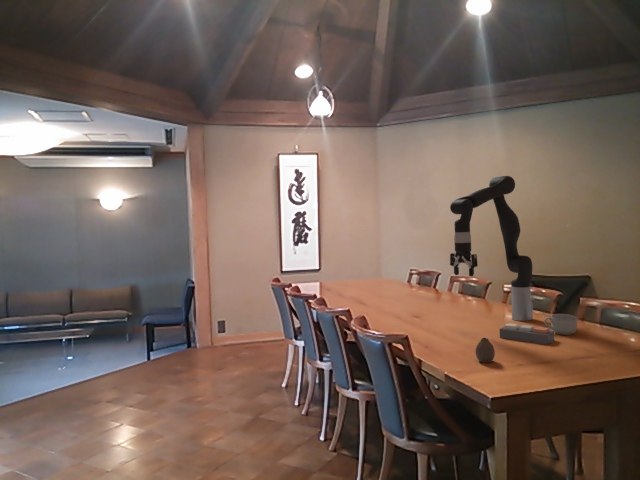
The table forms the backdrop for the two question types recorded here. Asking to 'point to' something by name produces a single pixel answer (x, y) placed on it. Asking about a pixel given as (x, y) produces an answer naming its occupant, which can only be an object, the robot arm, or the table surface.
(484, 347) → the vase
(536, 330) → the key terracotta
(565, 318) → the teacup
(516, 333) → the keypad
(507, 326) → the key ivory
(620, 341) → the table surface
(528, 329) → the key grey
